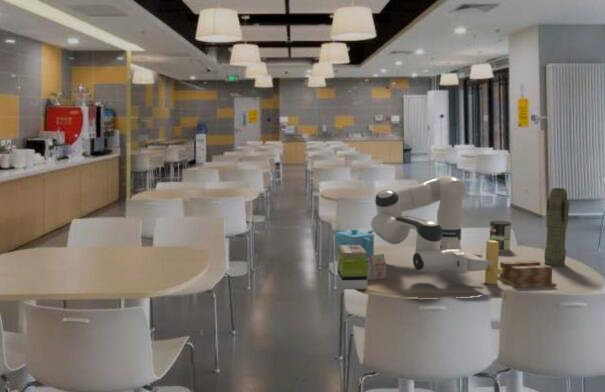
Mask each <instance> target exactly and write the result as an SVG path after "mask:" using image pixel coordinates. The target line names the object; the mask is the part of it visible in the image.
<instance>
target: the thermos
mask: <svg viewBox="0 0 605 392" xmlns="http://www.w3.org/2000/svg"><path fill="white" fill-rule="evenodd" d="M567 192H568V191H567V189H565V188H563V187H561V188H560V187H554V188H551V189H550V192H549V195H548V196H549V197H548V198H547V199H546V224H545V226H546V228H547V229H546V245H545V248H544V258H543V259H544V265H548V266H551V267H564V266H565V265H566V264H565V262H566V258H567V257H566V256H567V251H566V234H567V233H566V231H567V228H568V222H569V214H570V213H569V212H570V211H569V210H570V202H569V200H568V193H567Z"/></svg>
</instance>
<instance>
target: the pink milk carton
mask: <svg viewBox="0 0 605 392" xmlns="http://www.w3.org/2000/svg"><path fill="white" fill-rule="evenodd" d="M386 271H387V264H386V259H385V254H384V253H381V254H380V253H379V254H374V255H370V257H369V258H368V261H367V278H368V279H367V280H370V279H371V280H370V281H378V280H377V279H379V280H384V278H386V277H387V274H386V273H387V272H386Z"/></svg>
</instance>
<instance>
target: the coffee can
mask: <svg viewBox="0 0 605 392" xmlns="http://www.w3.org/2000/svg"><path fill="white" fill-rule="evenodd" d="M489 223H490V224H489V225H490V226H489V241H494V240H495V241H497V242H499V252H508V251H509V252H510V249H511V248H510V246H511V231H512V230H511V229H512V228H511V227H512V222H510V221H505V220H491V221H490V222H489Z"/></svg>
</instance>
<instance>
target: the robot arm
mask: <svg viewBox="0 0 605 392" xmlns="http://www.w3.org/2000/svg"><path fill="white" fill-rule="evenodd" d="M466 192H467V187H466V185H465V183H464V181H463V180H462V179H460V178H457V177H455V176H452V175H443V176H439V177H436V178H434V179H433V178H432V179H431V180H428V181H425V182H422V183H418V184H415V185H410V186H407V187H404V188H401V189H398V190H395V191H394V190H391V189H384V190H381V191H379V192H378V193H377V194H376V196H375V197H374V198H375V200H374V201H375V202H374V203H375V205H376V207H375V209H376V213H377V214H375V216H373V218H372V220H371V223H370V227H371V230H373V232H374V233H375V234H376V235H377V237H379V238H380V239H382V240H383V241H384V242H386V243H388V244H391V245H399V244H401V243H403V242H404V241H405V240H406V239H407V238H408V237H409V234H410V231H411V229H412V230H415V231H416V240H415V250H414V253H413V256H412V263H413V267H414V268H415V270H416V271H418V272H422V273H439V272H446V273H451V272H453V273H462V274H467V273H468V272H479V271H480V272H481V271H485V270H486V269H487V265H493V263H494V261H493V260H491V259H488V260H486V258H483V255H482V254H480V253H479V254H476V253H471V252H469V251H467V250H462V245H461V240H462V228H461V222H462V221H461V220H462V219H461V218H462V209H463V204H464V199H465V195H466ZM437 202H439V205H438V209H437V211H436V214H437V215H436V217H437V218H436V222H435V221H431V220H424V219H422V218H421V219H420V218H417V217H414V216H409V215H403V212H408V211H412V210H417V209H419V208H420V209H421V208H425V207H428V206H431V205H432V204H435V203H437Z"/></svg>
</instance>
